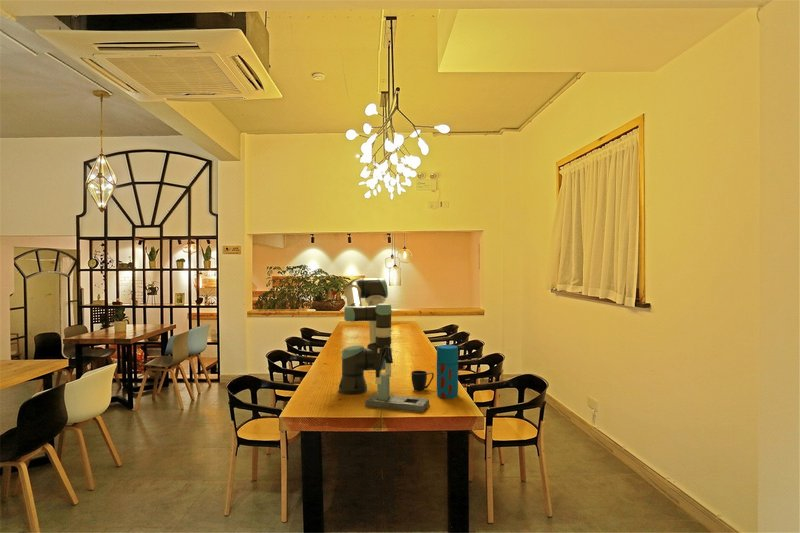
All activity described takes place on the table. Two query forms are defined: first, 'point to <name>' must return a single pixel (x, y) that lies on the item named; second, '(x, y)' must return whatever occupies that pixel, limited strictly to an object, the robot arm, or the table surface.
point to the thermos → (447, 371)
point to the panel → (398, 403)
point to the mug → (420, 380)
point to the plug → (384, 387)
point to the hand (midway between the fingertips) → (383, 380)
